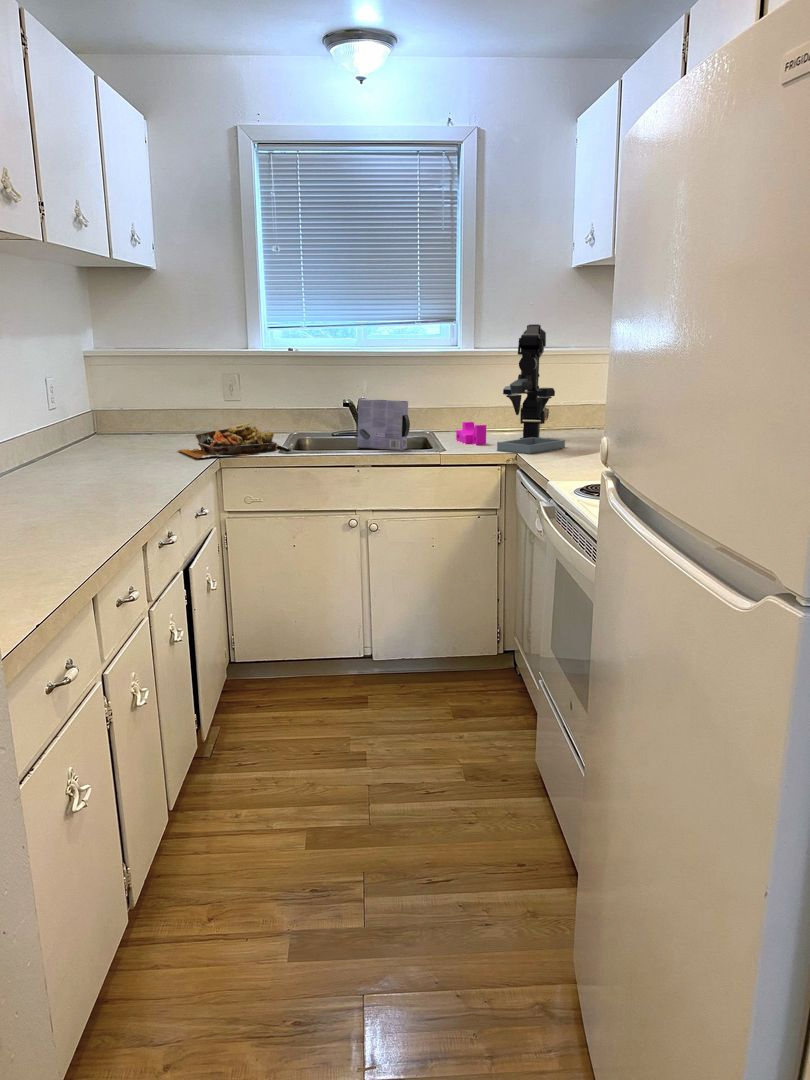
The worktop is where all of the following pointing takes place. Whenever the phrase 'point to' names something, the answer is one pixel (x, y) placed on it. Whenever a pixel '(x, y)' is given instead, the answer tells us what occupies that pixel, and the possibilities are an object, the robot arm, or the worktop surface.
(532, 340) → the robot arm
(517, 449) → the tray
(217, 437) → the food tray
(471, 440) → the toy block
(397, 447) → the cake pan box
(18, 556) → the worktop surface
